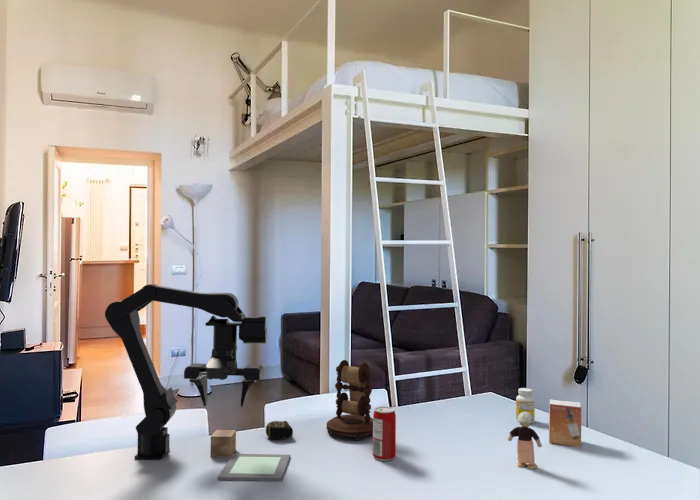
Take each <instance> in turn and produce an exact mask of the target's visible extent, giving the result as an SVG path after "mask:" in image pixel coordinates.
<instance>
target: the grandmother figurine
mask: <svg viewBox="0 0 700 500" xmlns="http://www.w3.org/2000/svg"><path fill="white" fill-rule="evenodd" d="M517 419H518V420H516V422H517V423H519V425H520V426H516V427H515V428H513V429H512V430H511V431H509V435H508V437H507V440H508V441H509V442H512V440H513V438H515V437H518V438H517V443H516V444H517V445H516V455H517V461H518V462H517V467H518V468H525V467H527V469H530V470H535V469H538V465H537V464H536V463H535V459H536V458H535V449H534V446H535V445H534V441H535V443H536V445H537V447H538V448H542V447H543V445H542V442H541V440H540V436H539V435H538V433H537V432H536V431H535V430H534V429H533V428H531V427H530V426H531V420H532V417H531V414H530V413H529V412H522V413H520V414H519V416H518V418H517ZM533 440H534V441H533Z"/></svg>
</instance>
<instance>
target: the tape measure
mask: <svg viewBox="0 0 700 500" xmlns="http://www.w3.org/2000/svg"><path fill="white" fill-rule="evenodd" d="M265 434H266V436H267V437H268V438H269V439H273V440H283V439H286V438H291V437H292V436H293V435H294V429H293V427H292V426H291V425H290V424H289V422H288V421H287V420H284V421H281V420H280V421H279V420H274V421H270V422H268V423H267V425H266V427H265Z"/></svg>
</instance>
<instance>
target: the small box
mask: <svg viewBox="0 0 700 500" xmlns="http://www.w3.org/2000/svg"><path fill="white" fill-rule="evenodd" d="M548 408H549V410H548V412H549V413H548V442H549V444H558V445H565V446H571V447H577V448H581V447H582V402H580V401H569V400H568V401H566V400H555V399H549V407H548Z"/></svg>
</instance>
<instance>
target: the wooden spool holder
mask: <svg viewBox="0 0 700 500" xmlns="http://www.w3.org/2000/svg"><path fill="white" fill-rule="evenodd" d="M335 371H336V375H337V377H336V383H335V384H334V387H335V390H336V391H337V393H336V398H337V399H335V404H336V411H335V414H336V416H335V417H332V418H331V419H329V420H327V422H326V430H327V434H328V433H329V434H328V435H331V434H334V435H339V436H343V437H344V436H345V437H355V438H356V440H357V442H359V441H360V440H361V437H363V436H369V435H373V417H371V415H370V413H371V411H370V410H371V409H372V405H371V404H370V403H371V397H370V396H371V394H372V392H373V389H372V387H371V386H372V384H371V376H372V371H371V370H370V367H369V365H368V363H367V362H365V361H364V362H362V363H361V364H360V365H359V367H358V366H351V365H350V364H349V362H348V360H347V359H343V360H341V362H340V363H339V364H338V366H336V368H335ZM345 383H346V384H345ZM342 390H348V391H349V395H348V393H347V392H344V391H343V392H341V391H342ZM343 413H344V414H343ZM330 433H331V434H330Z"/></svg>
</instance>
